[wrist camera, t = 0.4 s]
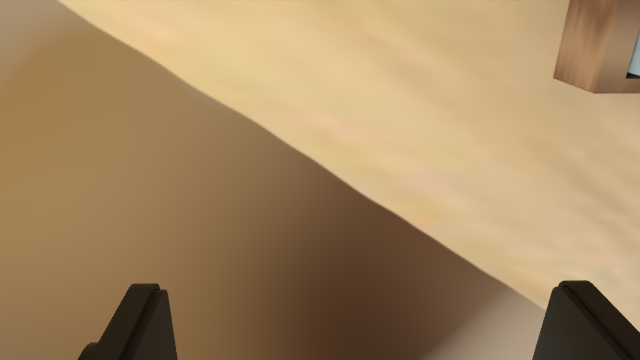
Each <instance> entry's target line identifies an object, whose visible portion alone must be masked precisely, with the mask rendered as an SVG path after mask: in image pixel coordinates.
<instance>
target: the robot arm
mask: <svg viewBox="0 0 640 360" xmlns="http://www.w3.org/2000/svg"><path fill="white" fill-rule="evenodd" d="M78 360H177V353H176V346H175V339H174V332H173V326H172V319H171V312H170V305H169V298H168V293H167V290H160V287H159V285H158V284H157V283H156V284H132V285H131V286H130V287H129V289H128V291H127V293H126V295H125V296H124V298H123V300H122V301H121V303H120V305H119V307H118V308H117V310H116V312H115V314H114V316H113V317H112V319H111V321H110V323H109V324H108V326H107V328H106V330H105V332H104V333H103V335H102V337H101V339H100V340H99V342H98V343H90V344H88V345H87V346H86V347H85V349H84V350H83V351H82V353H81V355H80V356H79V358H78ZM532 360H640V332H639V331H638V330H637V329H636V328H635V327H634V326H633V325H632V324H631V323H630V322H629V321H628V320H627V319H626V318H625V317H624V316H623V315H622V314H621V313H620V312H619V311H618V310H617V309H616V308H615V307H614V306H613V305H612V304H611V302H610V301H609V300H608V299H607V298H606V297H605V296H604V295H603V294H602V293H601V292H600V291H599V290H598V289H597V288H596V287H595V286H594V285H593V284H592V283H591V282H589V281H586V280H584V281H562V282H561V283H560V284H559V286H558V287H555V288H554V289H553V290H552V293H551V296H550V300H549V303H548V307H547V310H546V314H545V317H544V321H543V324H542V328H541V331H540V335H539V338H538V342H537V345H536V349H535V352H534V355H533V359H532Z"/></svg>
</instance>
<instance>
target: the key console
mask: <svg viewBox="0 0 640 360" xmlns="http://www.w3.org/2000/svg"><path fill="white" fill-rule="evenodd" d="M639 29H640V0H570V3H569V8H568V12H567V17H566V22H565V26H564V31H563V35H562V40H561V45H560V49H559V54H558V58H557V63H556V68H555V72H554V77H553V78H554V79H557V80H560V81H562V82H565V83H568V84H570V85H573V86H576V87H578V88H581V89H584V90H586V91H589V92H592V93H594V94H595V93H640V75H636V74H632V73H629V72H627V71H628V68H629V64H630V61H631V57H632V53H633V50H634V46H635V43H636V39H637V36H638V32H639Z"/></svg>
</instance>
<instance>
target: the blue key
mask: <svg viewBox="0 0 640 360" xmlns="http://www.w3.org/2000/svg"><path fill="white" fill-rule="evenodd" d="M627 72H629V73H632V74H636V75H640V29H639V32H638V36H637V39H636V43H635V46H634V50H633V53H632V57H631V61H630V64H629V68H628V71H627Z"/></svg>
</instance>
